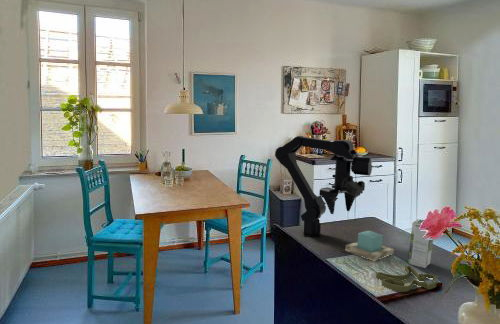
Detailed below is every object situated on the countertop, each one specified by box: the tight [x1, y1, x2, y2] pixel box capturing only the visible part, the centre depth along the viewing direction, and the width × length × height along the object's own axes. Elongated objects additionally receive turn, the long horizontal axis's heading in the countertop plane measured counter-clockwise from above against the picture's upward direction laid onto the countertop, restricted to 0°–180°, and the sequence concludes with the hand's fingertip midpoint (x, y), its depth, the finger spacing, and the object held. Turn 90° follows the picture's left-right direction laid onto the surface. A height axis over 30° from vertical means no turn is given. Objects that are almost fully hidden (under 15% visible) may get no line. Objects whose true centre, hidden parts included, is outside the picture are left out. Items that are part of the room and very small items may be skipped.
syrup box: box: [407, 218, 434, 269], centre depth 124 cm, size 6×6×14 cm
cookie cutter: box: [375, 265, 438, 293], centre depth 111 cm, size 18×12×2 cm, turn 116°
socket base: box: [344, 241, 395, 262], centre depth 135 cm, size 13×13×2 cm
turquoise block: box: [357, 230, 384, 253], centre depth 134 cm, size 6×6×7 cm
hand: (340, 212), depth 146 cm, fingers open, 9 cm apart
